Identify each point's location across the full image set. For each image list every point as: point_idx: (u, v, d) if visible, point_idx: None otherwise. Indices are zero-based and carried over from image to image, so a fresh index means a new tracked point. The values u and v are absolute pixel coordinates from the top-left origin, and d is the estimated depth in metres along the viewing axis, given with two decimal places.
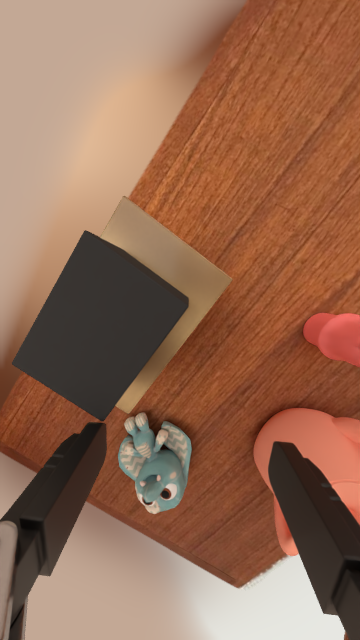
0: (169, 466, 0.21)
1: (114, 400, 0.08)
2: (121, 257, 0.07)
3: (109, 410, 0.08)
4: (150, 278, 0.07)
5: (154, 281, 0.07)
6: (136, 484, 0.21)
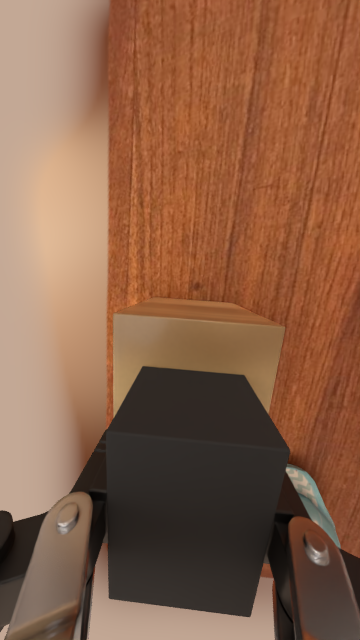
0: None
1: (252, 590, 0.06)
2: (167, 439, 0.05)
3: (252, 603, 0.06)
4: (218, 442, 0.05)
5: (225, 443, 0.05)
6: None
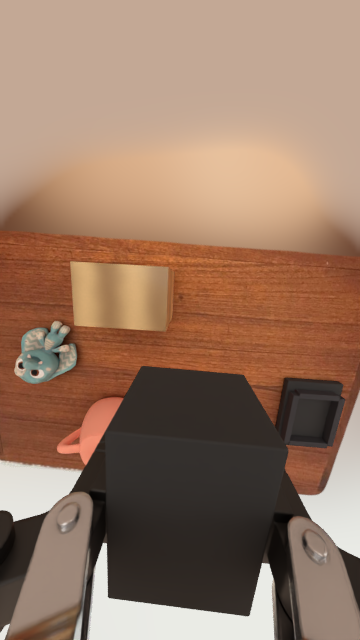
0: (51, 364, 0.31)
1: (250, 589, 0.06)
2: (165, 438, 0.05)
3: (250, 602, 0.06)
4: (216, 442, 0.05)
5: (224, 443, 0.05)
6: (24, 353, 0.30)
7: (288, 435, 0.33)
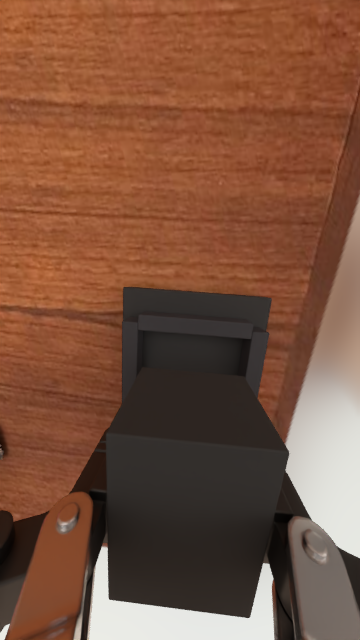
0: None
1: (251, 591, 0.06)
2: (166, 441, 0.05)
3: (251, 604, 0.06)
4: (217, 444, 0.05)
5: (225, 445, 0.05)
6: None
7: None
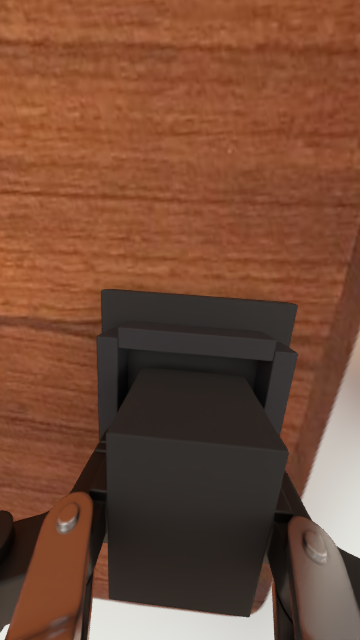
0: None
1: (251, 590, 0.06)
2: (166, 440, 0.05)
3: (251, 603, 0.06)
4: (217, 444, 0.05)
5: (224, 445, 0.05)
6: None
7: None
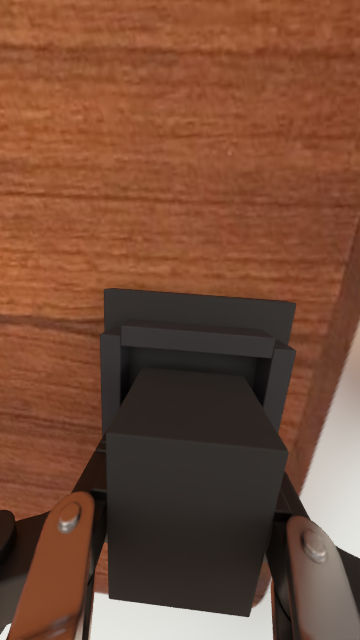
0: None
1: (250, 590, 0.06)
2: (166, 440, 0.05)
3: (251, 603, 0.06)
4: (217, 444, 0.05)
5: (224, 445, 0.05)
6: None
7: None
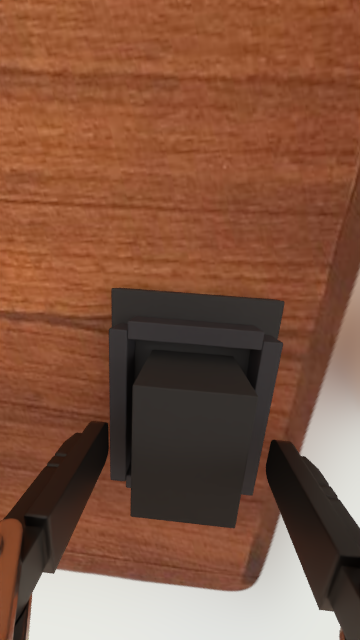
0: None
1: (235, 506, 0.08)
2: (174, 390, 0.07)
3: (235, 516, 0.08)
4: (209, 392, 0.07)
5: (214, 393, 0.07)
6: None
7: (118, 460, 0.11)
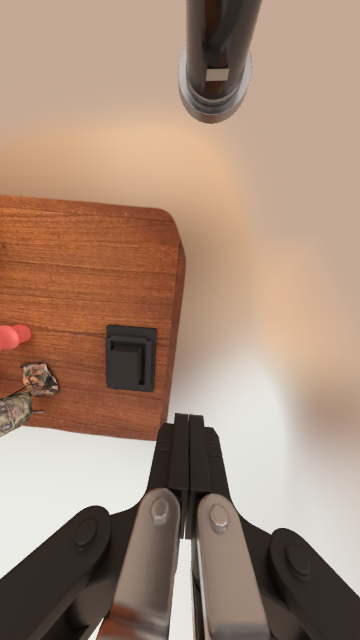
0: None
1: (136, 380, 0.33)
2: (119, 351, 0.32)
3: (136, 383, 0.34)
4: (127, 352, 0.32)
5: (128, 352, 0.32)
6: None
7: (108, 377, 0.36)
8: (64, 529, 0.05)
